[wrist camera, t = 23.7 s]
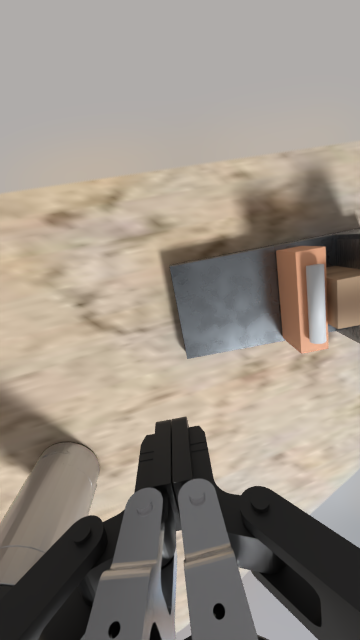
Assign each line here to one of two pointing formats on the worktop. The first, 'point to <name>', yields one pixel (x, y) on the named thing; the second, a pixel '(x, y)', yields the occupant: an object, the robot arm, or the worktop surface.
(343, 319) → the walnut block
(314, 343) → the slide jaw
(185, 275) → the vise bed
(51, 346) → the worktop surface
